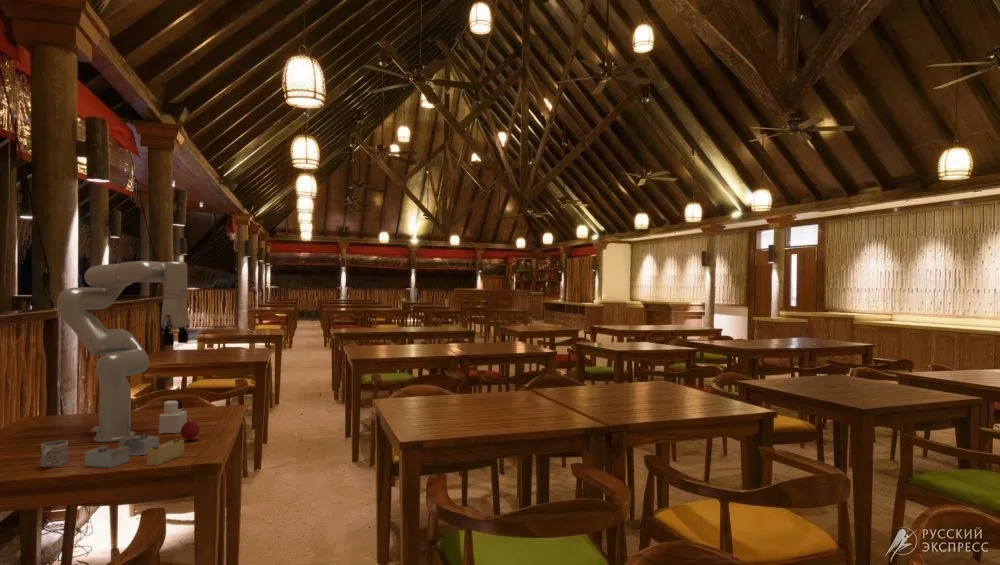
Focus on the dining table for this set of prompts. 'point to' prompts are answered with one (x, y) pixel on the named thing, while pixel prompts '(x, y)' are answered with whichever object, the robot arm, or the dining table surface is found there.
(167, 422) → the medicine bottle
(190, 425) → the onion
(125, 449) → the block
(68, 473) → the dining table surface
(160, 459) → the tan block
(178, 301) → the robot arm
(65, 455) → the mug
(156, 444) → the block
